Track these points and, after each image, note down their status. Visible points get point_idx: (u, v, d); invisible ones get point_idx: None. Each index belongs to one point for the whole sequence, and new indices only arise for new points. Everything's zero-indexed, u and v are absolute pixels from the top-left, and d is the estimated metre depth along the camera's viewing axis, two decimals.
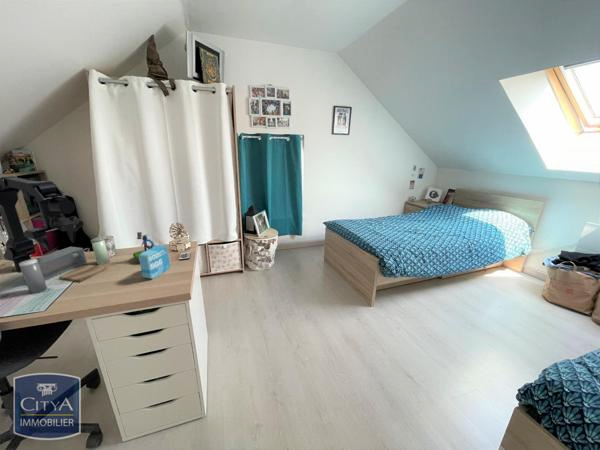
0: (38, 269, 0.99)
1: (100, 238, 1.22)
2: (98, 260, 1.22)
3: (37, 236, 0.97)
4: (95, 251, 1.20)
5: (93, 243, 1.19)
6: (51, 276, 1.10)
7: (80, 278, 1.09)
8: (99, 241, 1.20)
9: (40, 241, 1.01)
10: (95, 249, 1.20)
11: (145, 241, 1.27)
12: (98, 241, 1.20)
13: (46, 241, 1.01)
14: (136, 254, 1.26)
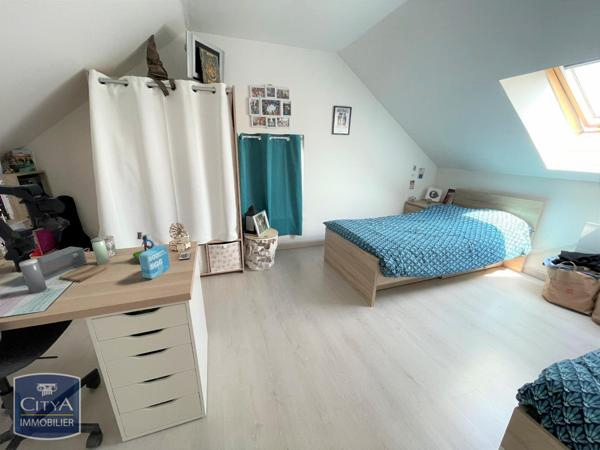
0: (38, 269, 0.99)
1: (100, 238, 1.22)
2: (98, 260, 1.22)
3: (24, 235, 1.05)
4: (95, 251, 1.20)
5: (93, 243, 1.19)
6: (51, 276, 1.10)
7: (80, 278, 1.09)
8: (99, 241, 1.20)
9: (27, 240, 1.09)
10: (95, 249, 1.20)
11: (145, 241, 1.27)
12: (98, 241, 1.20)
13: (32, 240, 1.09)
14: (136, 254, 1.26)
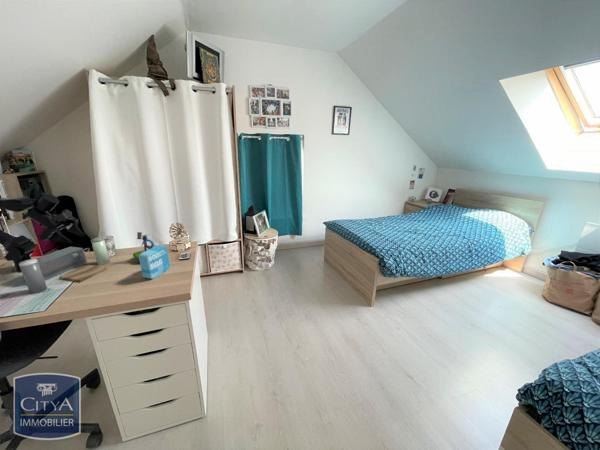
0: (38, 269, 0.99)
1: (100, 238, 1.22)
2: (98, 260, 1.22)
3: (51, 230, 1.08)
4: (95, 251, 1.20)
5: (93, 243, 1.19)
6: (51, 276, 1.10)
7: (80, 278, 1.09)
8: (99, 241, 1.20)
9: (58, 239, 1.12)
10: (95, 249, 1.20)
11: (145, 241, 1.27)
12: (98, 241, 1.20)
13: (62, 235, 1.12)
14: (136, 254, 1.26)
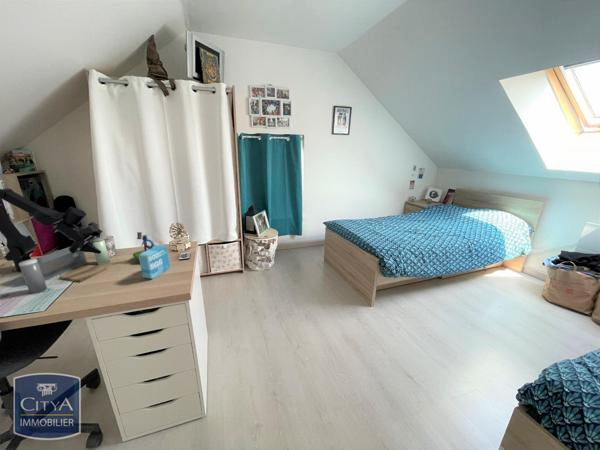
0: (38, 269, 0.99)
1: (100, 238, 1.22)
2: (98, 260, 1.22)
3: (80, 243, 1.12)
4: None
5: (93, 243, 1.19)
6: (51, 276, 1.10)
7: (80, 278, 1.09)
8: (99, 241, 1.20)
9: (88, 249, 1.18)
10: None
11: (145, 241, 1.27)
12: (98, 241, 1.20)
13: (92, 246, 1.18)
14: (136, 254, 1.26)
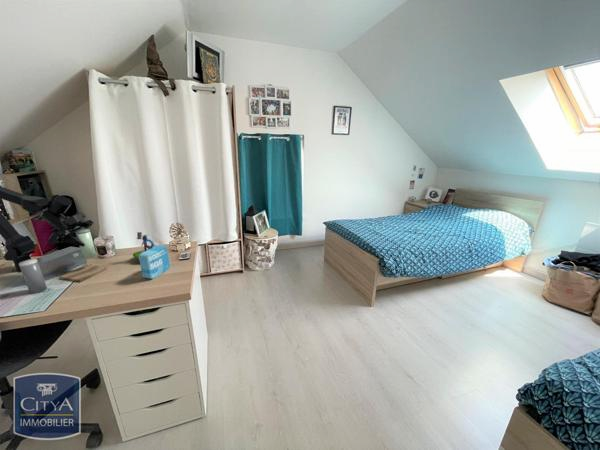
0: (38, 269, 0.99)
1: (85, 230, 1.13)
2: (82, 253, 1.14)
3: (59, 233, 1.04)
4: None
5: (77, 235, 1.11)
6: (51, 276, 1.10)
7: (80, 278, 1.09)
8: (83, 233, 1.11)
9: (71, 241, 1.10)
10: None
11: (145, 241, 1.27)
12: (82, 233, 1.11)
13: (75, 237, 1.10)
14: (136, 254, 1.26)
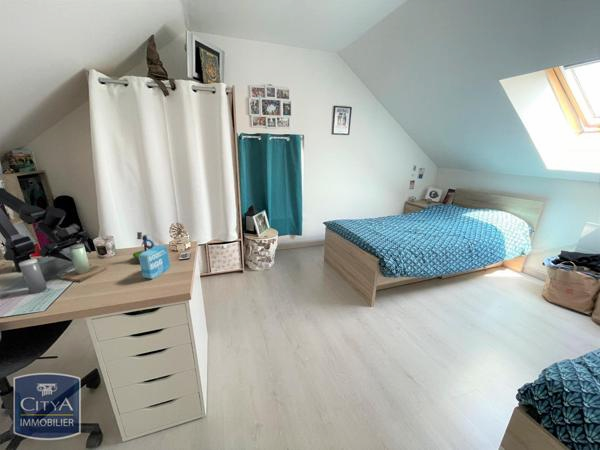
0: (38, 269, 0.99)
1: (79, 245, 1.11)
2: (75, 269, 1.11)
3: (49, 247, 1.01)
4: None
5: (70, 250, 1.09)
6: (51, 276, 1.10)
7: (80, 278, 1.09)
8: (76, 248, 1.09)
9: (59, 255, 1.06)
10: (72, 257, 1.09)
11: (145, 241, 1.27)
12: (74, 248, 1.08)
13: (62, 252, 1.06)
14: (136, 254, 1.26)
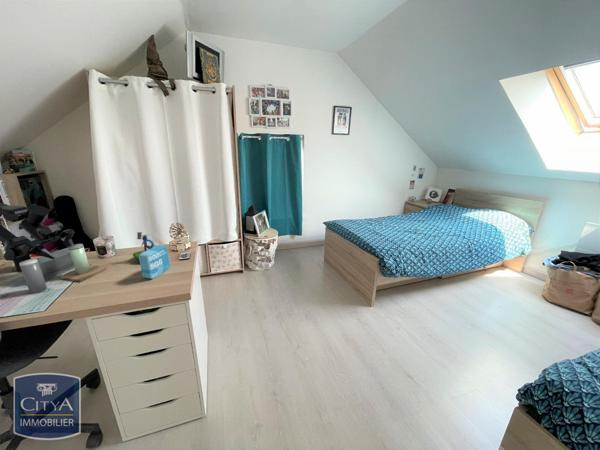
0: (38, 269, 0.99)
1: (79, 245, 1.10)
2: (75, 269, 1.11)
3: (31, 244, 1.02)
4: (72, 259, 1.10)
5: (69, 251, 1.08)
6: (51, 276, 1.10)
7: (80, 278, 1.09)
8: (75, 249, 1.08)
9: (41, 253, 1.06)
10: (72, 257, 1.09)
11: (145, 241, 1.27)
12: (74, 249, 1.08)
13: (44, 250, 1.06)
14: (136, 254, 1.26)
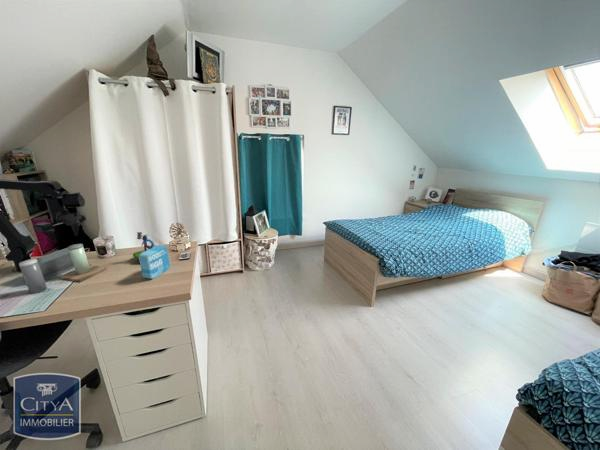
0: (38, 269, 0.99)
1: (78, 245, 1.10)
2: (75, 269, 1.11)
3: (45, 229, 1.09)
4: (72, 259, 1.10)
5: (69, 251, 1.08)
6: (51, 276, 1.10)
7: (80, 278, 1.09)
8: (75, 249, 1.08)
9: (47, 234, 1.14)
10: (71, 257, 1.09)
11: (145, 241, 1.27)
12: (73, 249, 1.08)
13: (52, 234, 1.14)
14: (136, 254, 1.26)
